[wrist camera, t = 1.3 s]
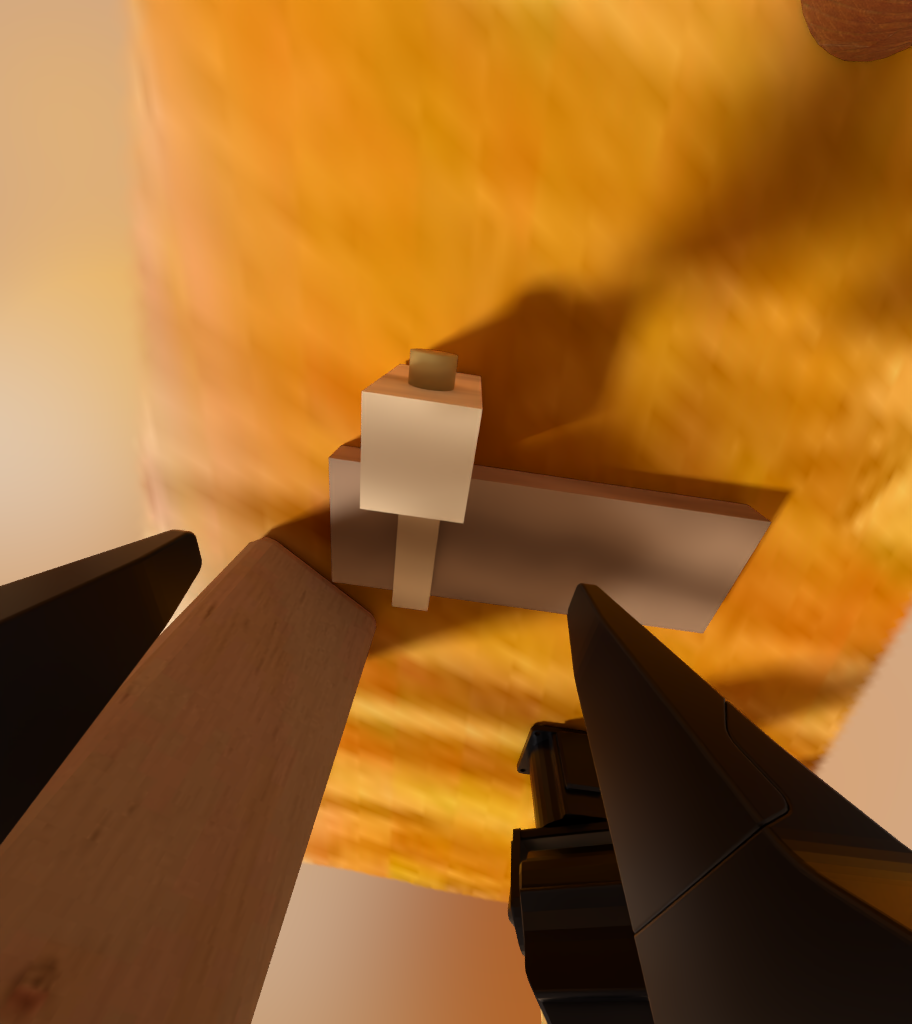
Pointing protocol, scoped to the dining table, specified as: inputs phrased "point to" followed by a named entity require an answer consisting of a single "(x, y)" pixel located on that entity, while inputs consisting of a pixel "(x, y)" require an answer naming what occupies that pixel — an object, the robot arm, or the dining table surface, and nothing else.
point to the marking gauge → (419, 459)
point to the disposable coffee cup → (860, 27)
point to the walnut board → (558, 544)
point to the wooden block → (185, 810)
